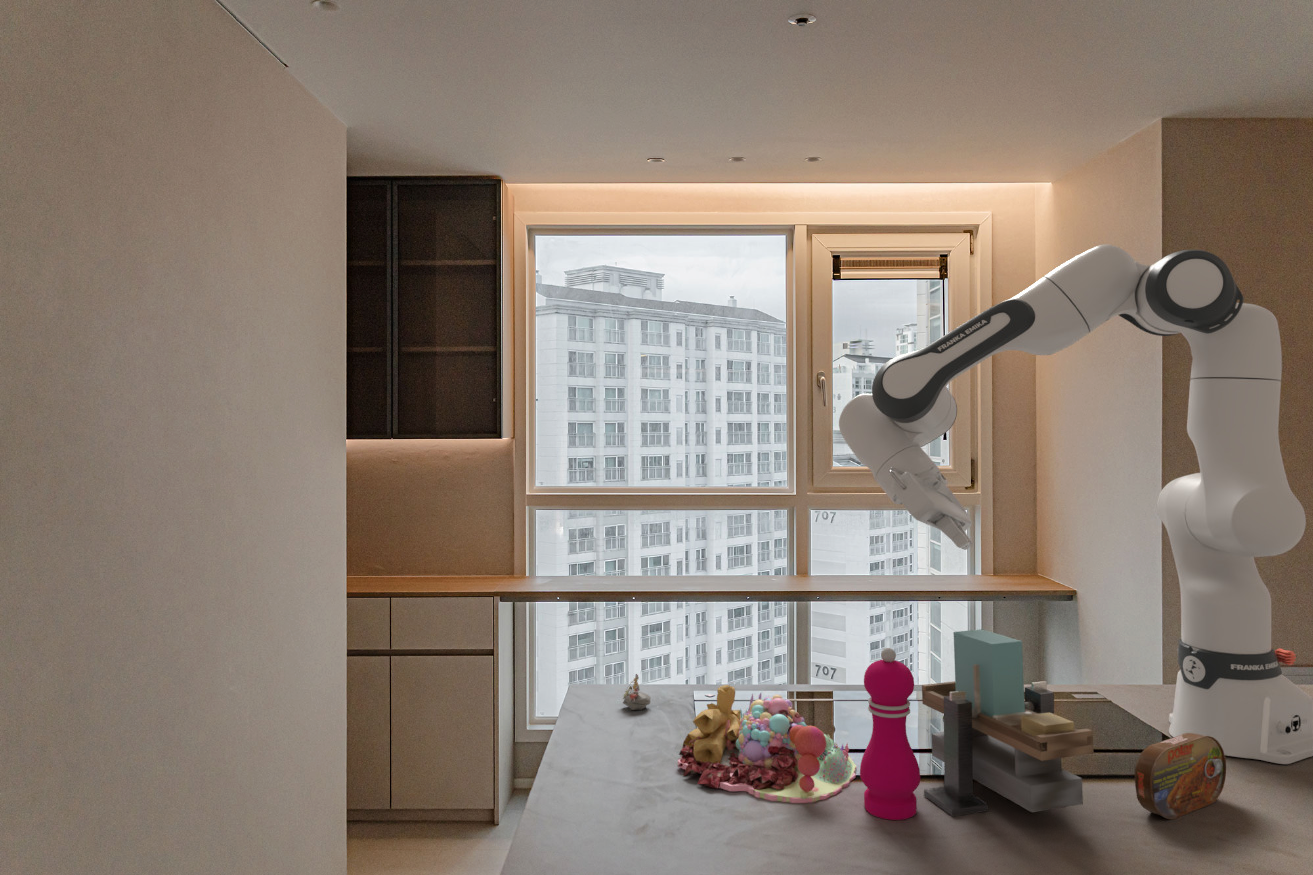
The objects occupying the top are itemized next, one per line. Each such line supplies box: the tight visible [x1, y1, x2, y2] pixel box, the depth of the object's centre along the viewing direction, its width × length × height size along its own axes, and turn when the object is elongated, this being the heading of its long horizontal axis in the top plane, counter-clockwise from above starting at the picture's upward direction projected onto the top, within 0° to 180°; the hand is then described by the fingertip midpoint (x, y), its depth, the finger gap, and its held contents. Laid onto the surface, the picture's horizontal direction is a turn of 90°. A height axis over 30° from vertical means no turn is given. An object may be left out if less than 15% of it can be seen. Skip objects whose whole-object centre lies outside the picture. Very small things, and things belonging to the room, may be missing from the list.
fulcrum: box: [923, 680, 1055, 817], centre depth 110 cm, size 18×6×14 cm, turn 105°
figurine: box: [622, 673, 652, 711], centre depth 146 cm, size 5×4×6 cm
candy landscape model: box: [677, 684, 857, 804], centre depth 122 cm, size 25×24×9 cm
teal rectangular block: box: [953, 628, 1025, 717], centre depth 112 cm, size 4×8×10 cm, turn 15°
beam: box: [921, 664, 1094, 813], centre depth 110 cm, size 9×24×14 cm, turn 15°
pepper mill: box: [859, 647, 921, 821], centre depth 107 cm, size 7×7×20 cm
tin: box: [1134, 733, 1227, 820], centre depth 106 cm, size 15×3×8 cm, turn 117°
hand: (966, 546), depth 130 cm, fingers closed
